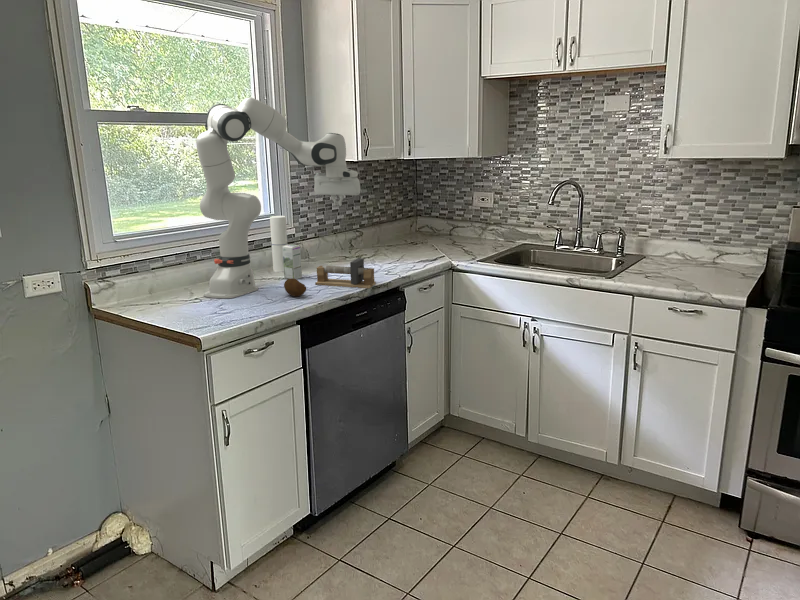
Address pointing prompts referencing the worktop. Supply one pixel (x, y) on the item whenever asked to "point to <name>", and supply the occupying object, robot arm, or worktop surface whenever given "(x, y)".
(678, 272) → the worktop surface
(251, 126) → the robot arm
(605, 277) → the worktop surface
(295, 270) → the syrup box
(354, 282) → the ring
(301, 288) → the potato
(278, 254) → the cylindrical container
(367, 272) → the pipe rig
